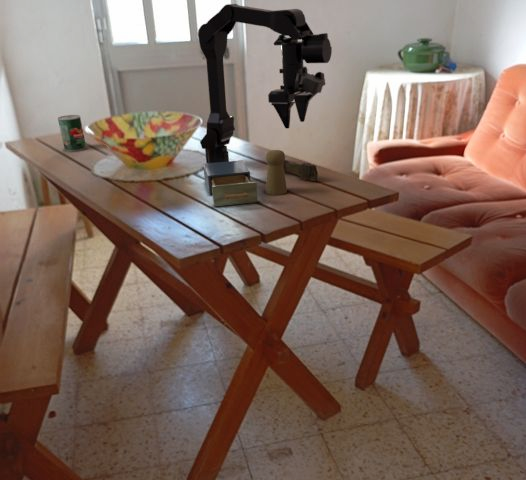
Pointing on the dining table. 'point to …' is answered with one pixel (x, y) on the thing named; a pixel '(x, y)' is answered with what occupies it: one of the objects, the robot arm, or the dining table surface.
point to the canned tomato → (72, 132)
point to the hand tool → (301, 170)
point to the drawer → (233, 190)
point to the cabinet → (223, 171)
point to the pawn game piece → (275, 173)
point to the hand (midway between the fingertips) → (294, 124)
